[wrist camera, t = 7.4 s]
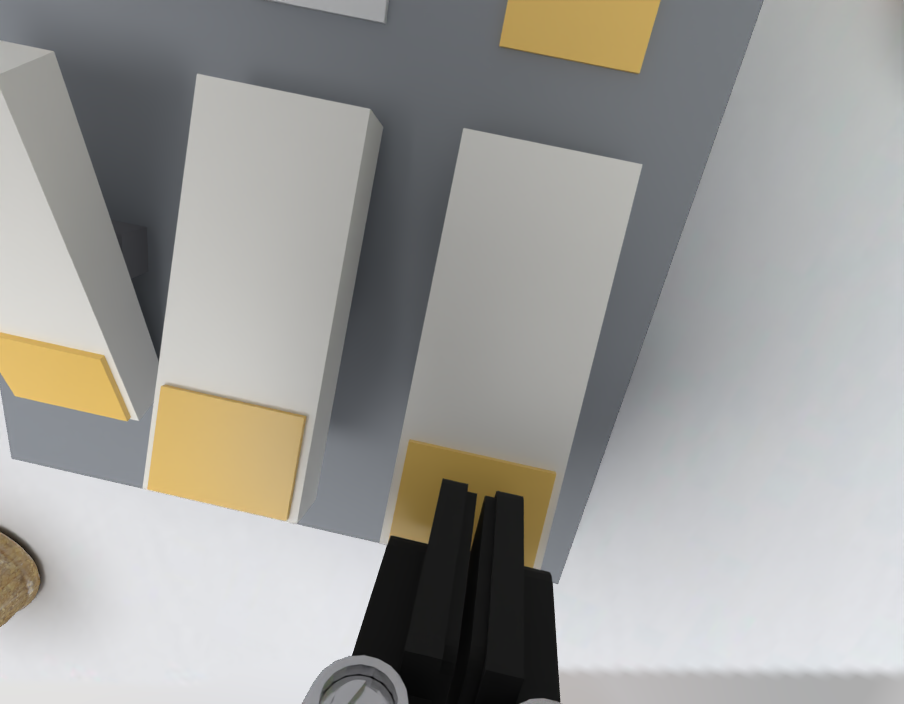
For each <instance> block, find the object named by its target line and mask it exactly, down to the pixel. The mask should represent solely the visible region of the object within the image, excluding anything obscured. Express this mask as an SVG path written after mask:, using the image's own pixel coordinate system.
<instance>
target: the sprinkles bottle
mask: <svg viewBox="0 0 904 704" xmlns="http://www.w3.org/2000/svg"><path fill="white" fill-rule="evenodd" d="M39 585H40V576H39V573H38V570H37V566H36V564H35V562H34V561H33V559H32V558H31V557H30V556H29V555H28V554H27V553H26V552H25V550H24V549H23V548H22V547H21V546H19V545H18V544H17V543H16V542H15V541H13V540H12V539H10V538H9V537H8V536H6V535H5V534H3V533H1V532H0V627H1V626H2V625H3V624H5V623H6V622H7V621H8V620H9V619H10V618H11V617H12V616H13V615H14V614H15V613H16V612H17V611H19V610H21V609H23V608H25V607H26V606H27V605H28V604H29V603H31V601H32V600H33V599H34V598H35V596H36V594H37V592H38V589H39Z"/></svg>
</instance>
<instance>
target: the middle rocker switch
mask: <svg viewBox="0 0 904 704" xmlns="http://www.w3.org/2000/svg"><path fill="white" fill-rule="evenodd" d="M382 132H383V126H382V124H381V123H380V122H379V120H378V119H377V117H376V116H375V115H374V113H373V112H372V110H371V109H368V108H364V107H359V106H354V105H349V104H344V103H339V102H334V101H329V100H324V99H319V98H315V97H310V96H305V95H300V94H295V93H290V92H285V91H280V90H275V89H270V88H265V87H261V86H256V85H251V84H246V83H241V82H236V81H231V80H226V79H221V78H216V77H211V76H207V75H202V74H197V76H196V84H195V91H194V99H193V107H192V114H191V122H190V129H189V137H188V145H187V152H186V160H185V168H184V175H183V183H182V190H181V198H180V206H179V213H178V221H177V229H176V236H175V244H174V251H173V259H172V267H171V274H170V282H169V290H168V297H167V305H166V312H165V320H164V328H163V335H162V343H161V350H160V358H159V366H158V373H157V381H156V389H155V396H154V404H153V411H152V419H151V427H150V434H149V442H148V450H147V457H146V465H145V472H144V480H143V488H142V489H145V490H150V491H154V492H158V493H163V494H167V495H171V496H176V497H180V498H185V499H189V500H193V501H198V502H202V503H206V504H211V505H215V506H219V507H224V508H228V509H232V510H237V511H241V512H245V513H250V514H254V515H259V516H263V517H267V518H272V519H276V520H280V521H285V522H289V523H293V524H297V523H298V522H299V520H300V519H301V518H302V517H303V515H304V514H305V513H306V511H307V510H308V509H309V507H310V506H311V505H312V503H313V502H314V501H315V499H316V495H317V489H318V484H319V478H320V473H321V467H322V462H323V456H324V451H325V445H326V440H327V434H328V429H329V423H330V418H331V412H332V407H333V401H334V396H335V390H336V385H337V379H338V374H339V368H340V363H341V357H342V352H343V346H344V341H345V335H346V330H347V324H348V319H349V313H350V308H351V302H352V297H353V291H354V286H355V280H356V275H357V269H358V264H359V258H360V253H361V247H362V242H363V236H364V231H365V225H366V220H367V214H368V209H369V203H370V198H371V192H372V187H373V181H374V176H375V170H376V165H377V159H378V154H379V148H380V143H381V137H382Z"/></svg>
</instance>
